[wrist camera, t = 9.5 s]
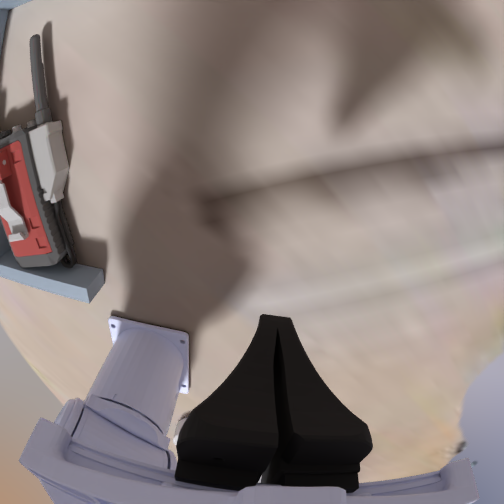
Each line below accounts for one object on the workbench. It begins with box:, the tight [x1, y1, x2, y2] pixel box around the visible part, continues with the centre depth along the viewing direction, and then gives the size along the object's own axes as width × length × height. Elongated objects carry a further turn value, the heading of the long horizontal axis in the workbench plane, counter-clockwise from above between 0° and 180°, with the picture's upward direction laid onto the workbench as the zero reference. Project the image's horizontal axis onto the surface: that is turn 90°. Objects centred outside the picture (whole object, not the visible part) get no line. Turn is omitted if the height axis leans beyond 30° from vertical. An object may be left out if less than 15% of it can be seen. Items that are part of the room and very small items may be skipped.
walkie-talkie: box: [0, 34, 77, 268], centre depth 18 cm, size 9×4×20 cm
